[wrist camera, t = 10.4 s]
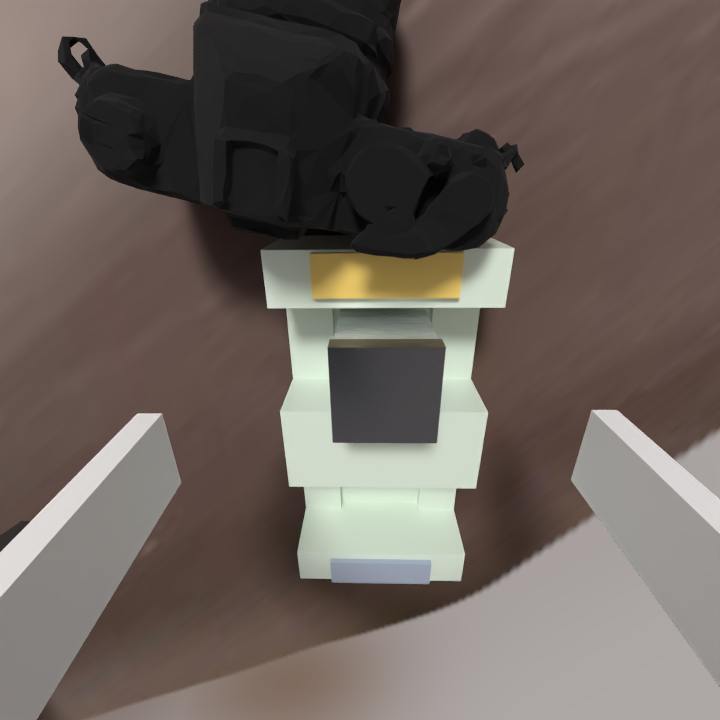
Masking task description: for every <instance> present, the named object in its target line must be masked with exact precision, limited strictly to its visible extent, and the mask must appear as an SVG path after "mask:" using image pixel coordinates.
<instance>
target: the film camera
mask: <svg viewBox="0 0 720 720" xmlns="http://www.w3.org/2000/svg"><path fill="white" fill-rule="evenodd" d="M400 3H401V0H208V2H207V1H206V2H204V3H202V4H201V8H200V16H199V18H198V19H197V20H196V22H195V23H194V26H193V76H192V78H191V80H186V79H182V78H178V77H174V76H170V75H166V74H162V73H157V72H151V71H144V70H134V69H131V68H128V67H125V66H122V65H119V64H110V65H107V66H106V65H105V64H104V63H103V62H102V60H101V59H100V58H99V57H98V55H97V54H96V52H95V51H94V49H93V48H92V46H91V45H90V44H89V42H88V41H87V39H86V38H78V37H62V39H61V43H60V46H59V49H58V62H59V63H60V64H61V66H62V67H63V68H64V69H65V70H66V72H67V73H68V74H69V75H70V76H71V78H72V79H73V80H75V81H76V82H77V83H78V84H79V87H78V90H77V92H76V94H75V96H76V98H77V99H78V100H77V103H76V106H75V109H76V111H77V114H78V130H79V135H80V140H81V142H82V143H83V145H84V147H85V148H86V150H87V151H88V153H89V154H90V156H91V157H92V159H93V161H94V163H95V165H96V167H97V169H98V170H99V171H101V172H102V173H103V174H105V175H106V176H107V177H109V178H110V179H112V180H115V181H117V182H119V183H122V184H125V185H129V186H132V187H135V188H137V189H141V190H145V191H149V192H153V193H157V194H161V195H166V196H170V197H174V198H178V199H182V200H187V201H190V202H194V203H198V204H203V205H205V206H208V207H212V208H215V209H218V210H221V211H224V212H225V213H226V215H227V218H228V220H229V222H230V226H231V227H233V228H235V229H237V230H240V231H245V232H251V233H256V234H262V235H268V236H273V237H277V238H281V239H284V240H299V238H301V237H302V236H303V235H304V234H305V232H306V229H307V228H309V229H325V230H330V231H334V232H339V233H344V234H348V235H353V236H356V237H355V238H354V239H353V240H352V242H351V245H350V247H351V248H352V249H354V250H355V251H356V252H359V253H364V254H369V255H374V256H389V257H397V258H402V259H414V260H416V259H420V258H424V257H427V256H431V255H435V254H436V253H438V252H439V251H441V250H449V251H463V250H469V249H474V248H479V247H480V246H481V245H483V244H484V243H485V242H486V241H487V240H488V239H490V238H491V237H492V236H493V235H494V234H496V232H497V230H498V228H499V226H500V224H501V221H502V219H503V216H504V215H505V213H506V212H507V209H506V207H507V202H508V197H509V192H508V184H507V179H506V173H505V169H506V168H507V167H508V165H509V164H510V162H512V164H513V167H514V169H515V172H517V171H518V170H519V169H520V168H521V167H522V166H523V165H524V163H523V161H522V159H521V158H520V156H519V154H518V148H517V144H516V145H512V146H510V145H509V144H508V143H506V144H505V145H504V146H502V147H501V148H500V149H499V148H498V146H497V144H496V142H495V139H494V138H493V137H491V136H490V135H489V134H488V133H486V132H483V131H481V130H479V129H475V130H473V131H471V132H469V133H465V134H462V136H461V137H460V138H459V139H451V138H447V137H443V136H439V135H435V134H430V133H423V132H416V131H413V130H412V129H411V128H398V127H395V126H391V125H387V124H383V123H384V115H385V112H386V110H387V108H388V105H389V103H390V101H391V97H390V91H389V90H390V88H389V87H388V86H387V85H386V77H389V75H390V74H391V70H392V65H393V61H394V56H395V48H394V32H395V29H396V25H397V20H398V14H399V8H400ZM77 42H81V43H82V44H83V45H84V46H85V47H86V48H88V49H87V50H86V51H85V52H84V53H83V54H82V55H81V58H82V62H83V65H84V67H81V65H80V64H79V63H78V62H77V61H76V59H75V58H74V57H73V56H72V54H71V49H70V48H71V47H72V46H73V45H74V44H76V43H77Z"/></svg>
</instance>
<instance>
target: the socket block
mask: <svg viewBox="0 0 720 720" xmlns="http://www.w3.org/2000/svg"><path fill="white" fill-rule="evenodd" d="M355 237H356V236H353V235H303V236H302V237H301V238H299V240H284V239H281V238H280V239H278V240H276V241H275V242H273V243H271V244H270V245H268V246H267V247H265V248H263V249H262V250H260V251H261V259H262V267H263V275H264V283H265V292H266V300H267V308H286V311H287V321H288V331H289V341H290V351H291V361H292V371H293V380H292V383H291V385H290V388H289V390H288V393H287V395H286V398H285V400H284V403H283V405H282V408H281V411H280V415H281V423H282V431H283V439H284V448H285V456H286V464H287V472H288V481H289V487H304V492H305V502H306V510H305V516H304V521H303V526H302V531H301V536H300V541H299V546H298V551H297V554H298V563H299V571H300V578H311V579H331V580H332V582H334V583H392V584H429V582H430V581H461V577H462V571H463V564H464V558H465V552H464V549H463V545H462V541H461V537H460V533H459V529H458V525H457V521H456V517H455V513H454V502H455V494H456V488H476V484H477V478H478V472H479V466H480V459H481V453H482V447H483V441H484V435H485V428H486V422H487V416H488V411H487V409H486V407H485V406H484V404H483V402H482V400H481V398H480V396H479V394H478V392H477V390H476V388H475V386H474V384H473V382H472V380H471V373H472V365H473V358H474V350H475V343H476V335H477V328H478V320H479V312H480V308H505V305H506V299H507V292H508V286H509V280H510V274H511V268H512V261H513V255H514V249H515V248H513V247H510V246H508V245H506V244H504V243H502V242H499V241H497V240H495V239H493V238H490V239H488V240H487V241H486V242H485V243H484V244H483V245H481V246H480V247H479V248H474V249H469V250H463V251H449V250H441V251H439V252H438V253H436V254H435V255H431V256H427V257H424V258H420V259H416V260H414V259H402V258H397V257H389V256H374V255H369V254H364V253H359V252H356V251H355V250H354V249H352V248H351V247H350V245H351V242H352V240H353V239H354V238H355ZM340 308H425V310H426V312H427V315H428V317H429V319H430V322H431V324H432V326H433V328H434V331H435V333H436V335H437V338H438V339H442V340H443V342H444V344H445V346H446V352H445V363H444V374H443V384H442V395H441V406H440V416H439V427H438V438H437V443H333V440H332V422H331V404H330V385H329V367H328V349H327V347H328V344H329V340H330V339H333V337H334V333H335V329H336V325H337V320H338V316H339V312H340Z"/></svg>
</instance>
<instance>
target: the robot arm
mask: <svg viewBox="0 0 720 720" xmlns="http://www.w3.org/2000/svg"><path fill="white" fill-rule="evenodd" d="M571 481H572V482H573V484H574V485H575V486H576V488H577V489H578V491H579V492H580V493H581V495H582V496H583V497H584V499H585V500H586V502H587V503H588V504H589V506H590V507H591V509H592V510H593V511H594V513H595V514H596V516H597V517H598V518H599V520H600V521H601V523H602V524H603V525H604V526H605V528H606V529H607V531H608V532H609V534H610V535H611V537H612V538H613V539H614V541H615V542H616V543H617V545H618V546H619V548H620V549H621V550H622V552H623V553H624V555H625V556H626V557H627V559H628V560H629V562H630V563H631V564H632V566H633V567H634V569H635V570H636V571H637V573H638V574H639V576H640V577H641V578H642V580H643V581H644V582H645V584H646V585H647V587H648V588H649V589H650V591H651V592H652V594H653V595H654V596H655V598H656V599H657V600H658V602H659V603H660V605H661V606H662V608H663V609H664V610H665V612H666V613H667V615H668V616H669V617H670V619H671V620H672V622H673V623H674V624H675V626H676V627H677V628H678V630H679V631H680V633H681V634H682V635H683V637H684V638H685V640H686V641H687V642H688V644H689V645H690V647H691V648H692V649H693V651H694V652H695V654H696V655H697V656H698V658H699V659H700V661H701V662H702V663H703V665H704V666H705V667H706V669H707V670H708V672H709V673H710V674H711V676H712V677H713V679H714V680H715V681H716V683H717V684H718V686H719V687H720V499H718V498H717V497H716V496H715V495H714V494H713V493H712V492H711V491H709V490H708V489H707V488H706V487H705V486H704V485H703V484H701V483H700V482H699V481H698V480H697V479H696V478H694V477H693V476H692V475H691V474H690V473H688V472H687V471H686V470H685V469H684V468H683V467H682V466H681V465H680V464H678V463H677V462H676V461H675V460H674V459H673V458H671V457H670V456H669V455H668V454H667V453H666V452H665V451H663V450H662V449H661V448H660V447H659V446H658V445H657V444H655V443H654V442H653V441H652V440H651V439H650V438H648V437H647V436H646V435H645V434H644V433H643V432H642V431H640V430H639V429H638V428H637V427H636V426H635V425H634V424H632V423H631V422H630V421H629V420H628V419H627V418H626V417H624V416H623V415H622V414H621V413H620V412H619V411H617V410H591V414H590V417H589V420H588V424H587V427H586V431H585V434H584V437H583V441H582V444H581V448H580V451H579V454H578V458H577V461H576V465H575V468H574V471H573V475H572V478H571ZM180 484H181V480H180V476H179V473H178V469H177V465H176V462H175V458H174V455H173V451H172V447H171V444H170V440H169V437H168V433H167V429H166V426H165V422H164V418H163V415H162V413H159V414H136V415H135V416H134V417H133V419H132V420H131V421H130V422H129V423H128V424H127V425H126V426H125V427H124V428H123V429H122V430H121V431H120V432H119V433H118V434H117V435H116V436H115V437H114V438H113V439H112V440H111V441H110V442H109V443H108V444H107V445H106V446H105V447H104V448H103V449H102V450H101V451H100V452H99V453H98V454H97V455H96V456H95V457H94V458H93V459H92V460H91V461H90V462H89V463H88V464H87V465H86V466H85V467H84V468H83V469H82V470H81V471H80V472H79V473H78V474H77V475H76V476H75V477H74V478H73V479H72V480H71V481H70V482H69V483H68V484H67V485H66V486H65V487H64V488H63V489H62V490H61V491H60V492H59V493H58V494H57V495H56V496H55V497H54V498H53V499H52V500H51V501H50V502H49V503H48V504H47V505H46V506H45V507H44V509H43V510H42V511H41V512H40V513H39V514H38V515H37V516H36V517H35V518H34V519H33V520H32V521H21V522H20V523H18V524H17V525H15V526H14V527H12V528H11V529H9V530H8V531H6V532H5V533H3V534H2V535H0V720H37V718H38V717H39V715H40V714H41V712H42V710H43V709H44V707H45V705H46V704H47V702H48V700H49V699H50V697H51V696H52V694H53V692H54V691H55V689H56V687H57V686H58V684H59V682H60V681H61V679H62V677H63V676H64V674H65V673H66V671H67V669H68V668H69V666H70V664H71V663H72V661H73V659H74V658H75V656H76V654H77V653H78V651H79V650H80V648H81V646H82V645H83V643H84V641H85V640H86V638H87V636H88V635H89V633H90V631H91V630H92V628H93V627H94V625H95V623H96V622H97V620H98V618H99V617H100V615H101V613H102V612H103V610H104V609H105V607H106V605H107V604H108V602H109V600H110V599H111V597H112V595H113V594H114V592H115V590H116V589H117V587H118V586H119V584H120V582H121V581H122V579H123V577H124V576H125V574H126V572H127V571H128V569H129V567H130V566H131V564H132V563H133V561H134V559H135V558H136V556H137V554H138V553H139V551H140V549H141V548H142V546H143V544H144V543H145V541H146V540H147V538H148V536H149V535H150V533H151V531H152V530H153V528H154V526H155V525H156V523H157V522H158V520H159V518H160V517H161V515H162V513H163V512H164V510H165V508H166V507H167V505H168V503H169V502H170V500H171V499H172V497H173V495H174V494H175V492H176V490H177V489H178V487H179V485H180Z"/></svg>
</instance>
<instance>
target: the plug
mask: <svg viewBox="0 0 720 720" xmlns="http://www.w3.org/2000/svg"><path fill="white" fill-rule="evenodd" d="M327 349H328V367H329V385H330V404H331V422H332V440H333V443H437V438H438V427H439V416H440V406H441V395H442V384H443V374H444V363H445V352H446V346H445V344H444V342H443V340H442V339H438V338H437V335H436V333H435V331H434V328H433V326H432V324H431V322H430V319H429V317H428V315H427V312H426V310H425V308H340V312H339V316H338V320H337V325H336V329H335V333H334V337H333V339H330V340H329V344H328V347H327Z"/></svg>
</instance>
